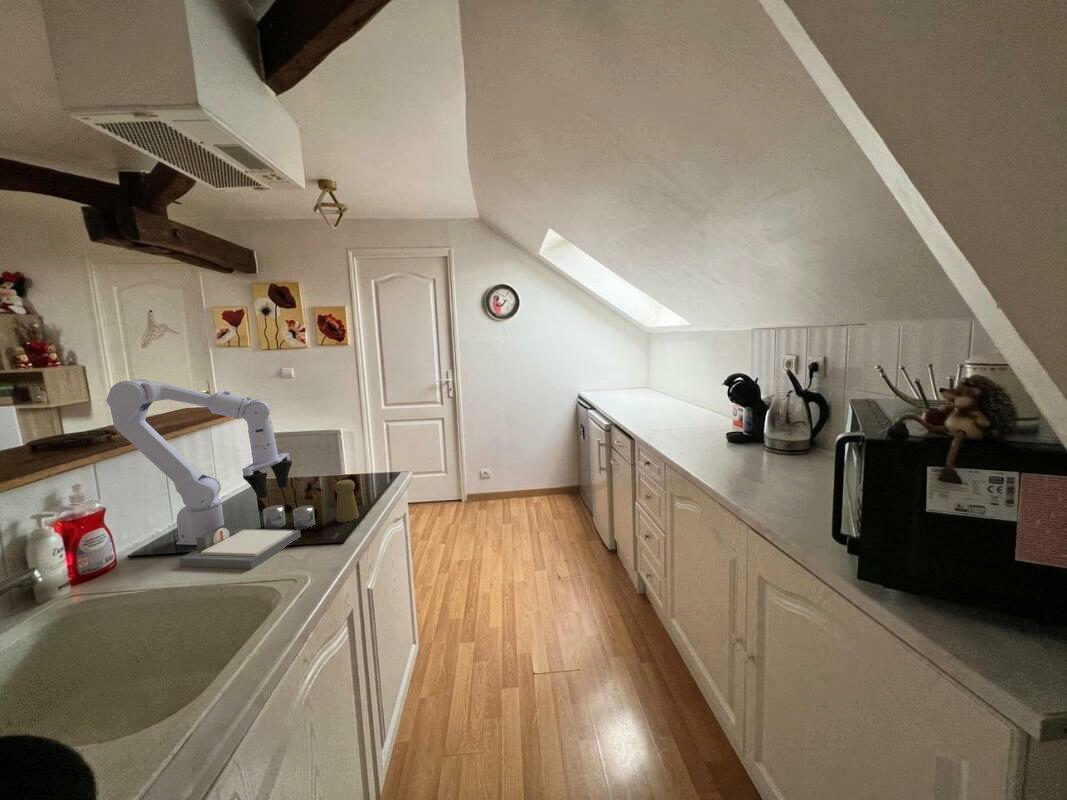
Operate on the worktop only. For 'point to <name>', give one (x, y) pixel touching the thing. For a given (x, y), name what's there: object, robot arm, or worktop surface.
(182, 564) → the kitchen scale
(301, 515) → the cylinder
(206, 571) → the worktop surface
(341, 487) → the cork
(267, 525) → the cylinder
